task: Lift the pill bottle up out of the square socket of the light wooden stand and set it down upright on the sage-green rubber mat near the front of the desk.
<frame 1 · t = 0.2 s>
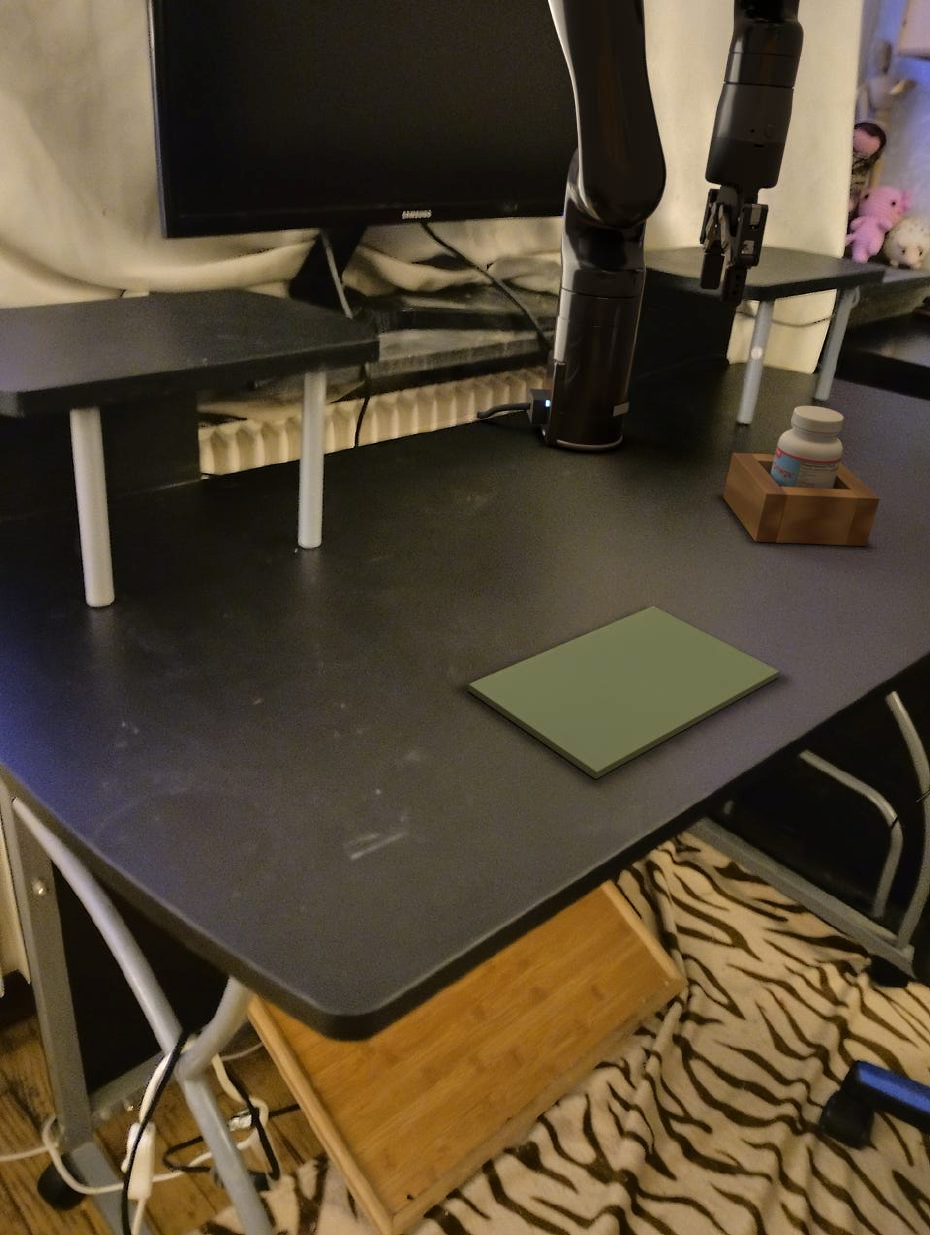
hand: (718, 296, 109), 17 cm above the table, tool pointing down, fingers open, 8 cm apart
pill bottle: (790, 522, 99), resting in stand
mat: (627, 684, 70), on the table
stand: (791, 520, 99), on the table
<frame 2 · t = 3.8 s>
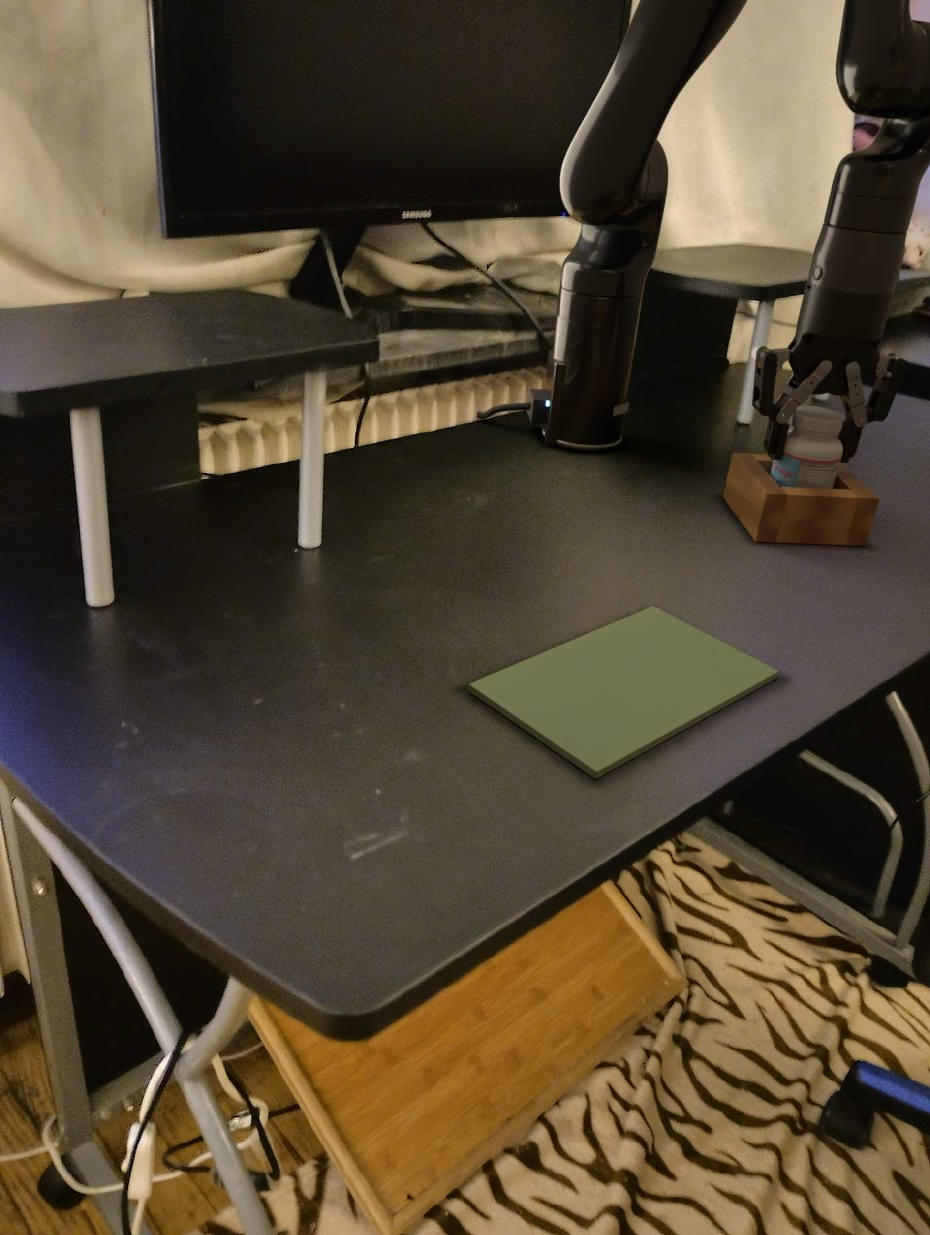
hand: (806, 458, 96), 7 cm above the table, tool pointing down, fingers closed on pill bottle, 6 cm apart
pill bottle: (790, 522, 99), resting in stand, touching gripper
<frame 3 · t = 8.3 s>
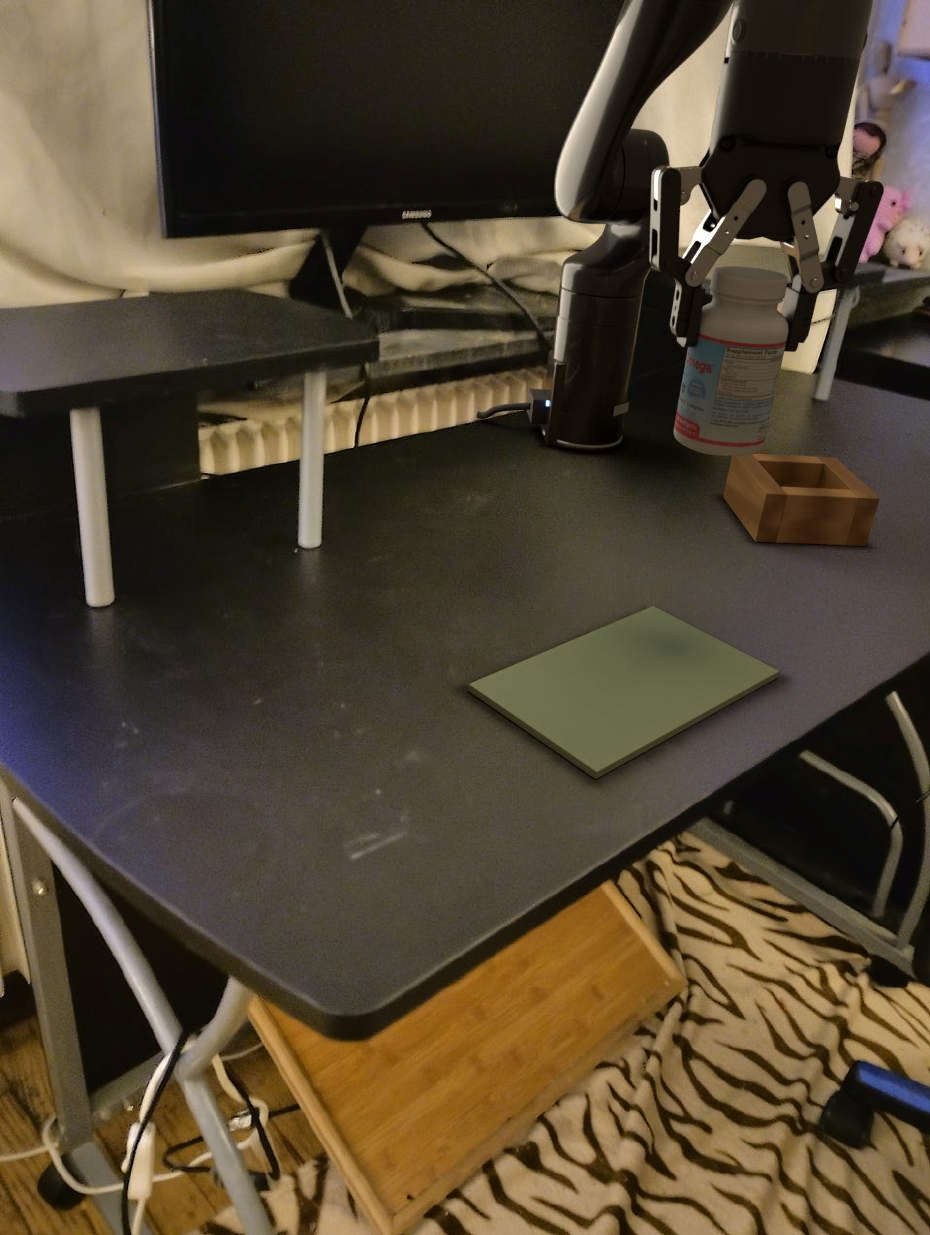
hand: (735, 346, 64), 23 cm above the table, tool pointing down, fingers closed on pill bottle, 6 cm apart
pill bottle: (716, 446, 67), point 16 cm above the table, touching gripper
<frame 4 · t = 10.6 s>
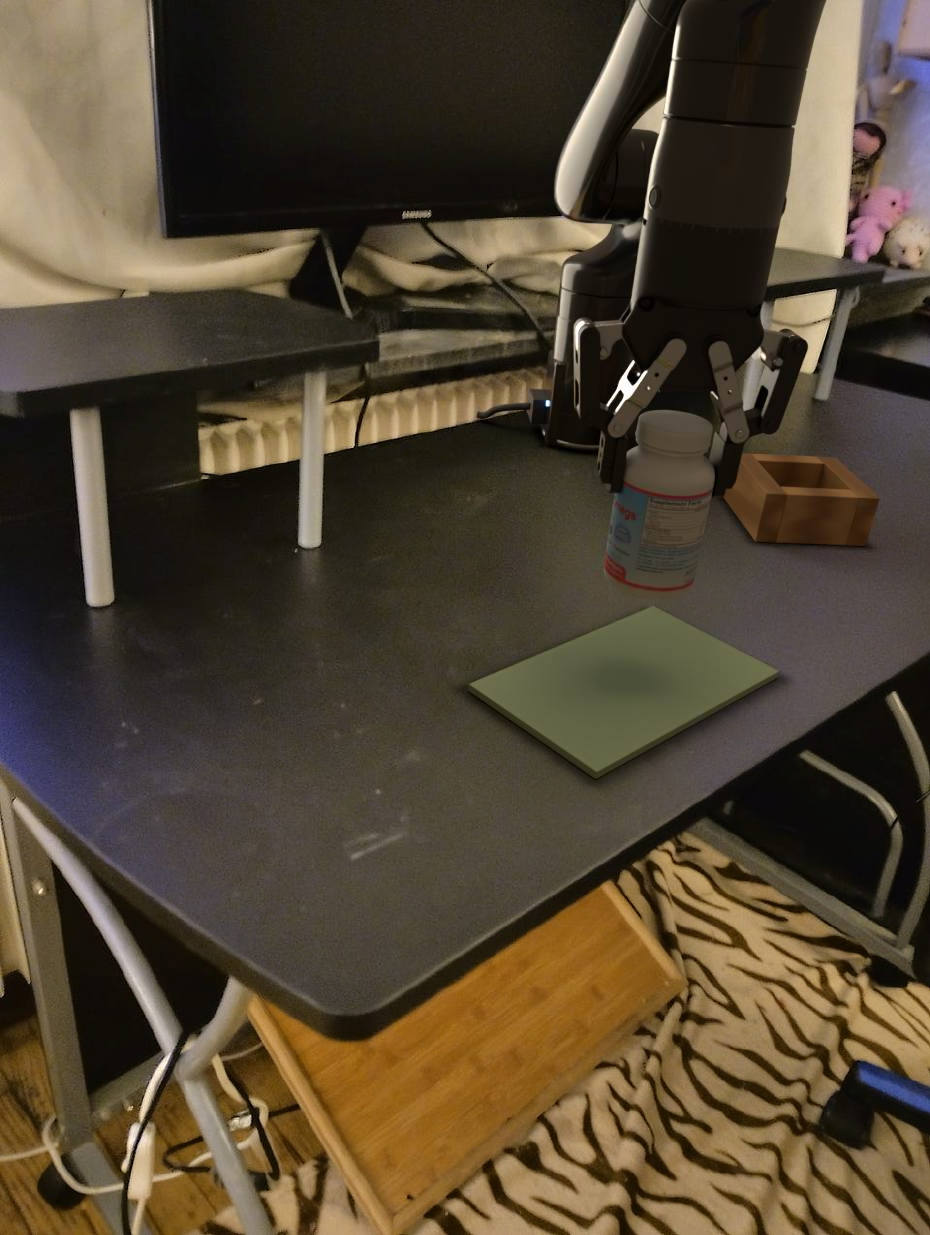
hand: (662, 489, 63), 15 cm above the table, tool pointing down, fingers closed on pill bottle, 6 cm apart
pill bottle: (646, 584, 66), point 8 cm above the table, touching gripper
when the fingers open (7 cm above the table, at t = 12.9 s): pill bottle stays where it is, resting on mat.
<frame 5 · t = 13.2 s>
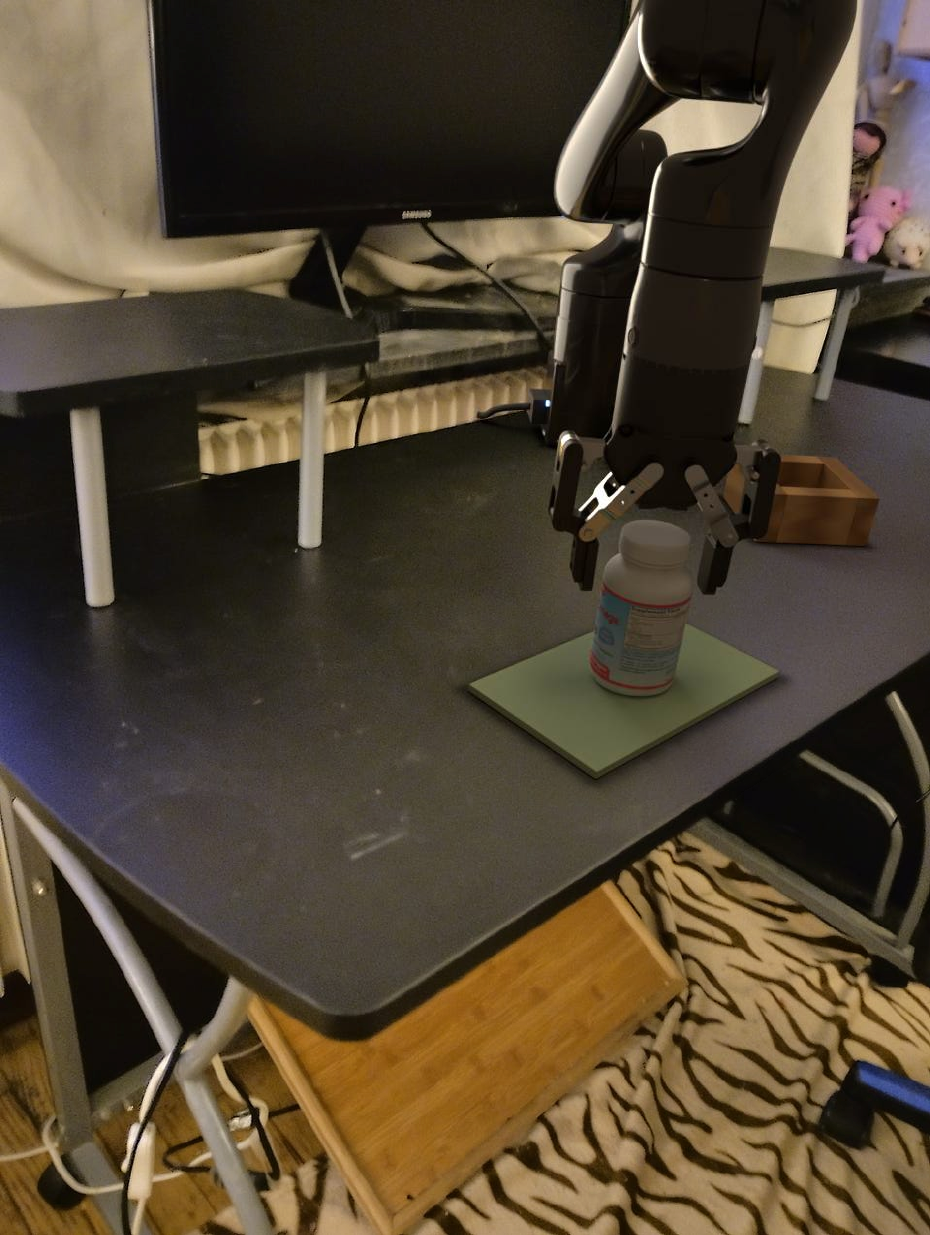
hand: (644, 587, 67), 8 cm above the table, tool pointing down, fingers open, 8 cm apart
pill bottle: (629, 678, 70), resting on mat
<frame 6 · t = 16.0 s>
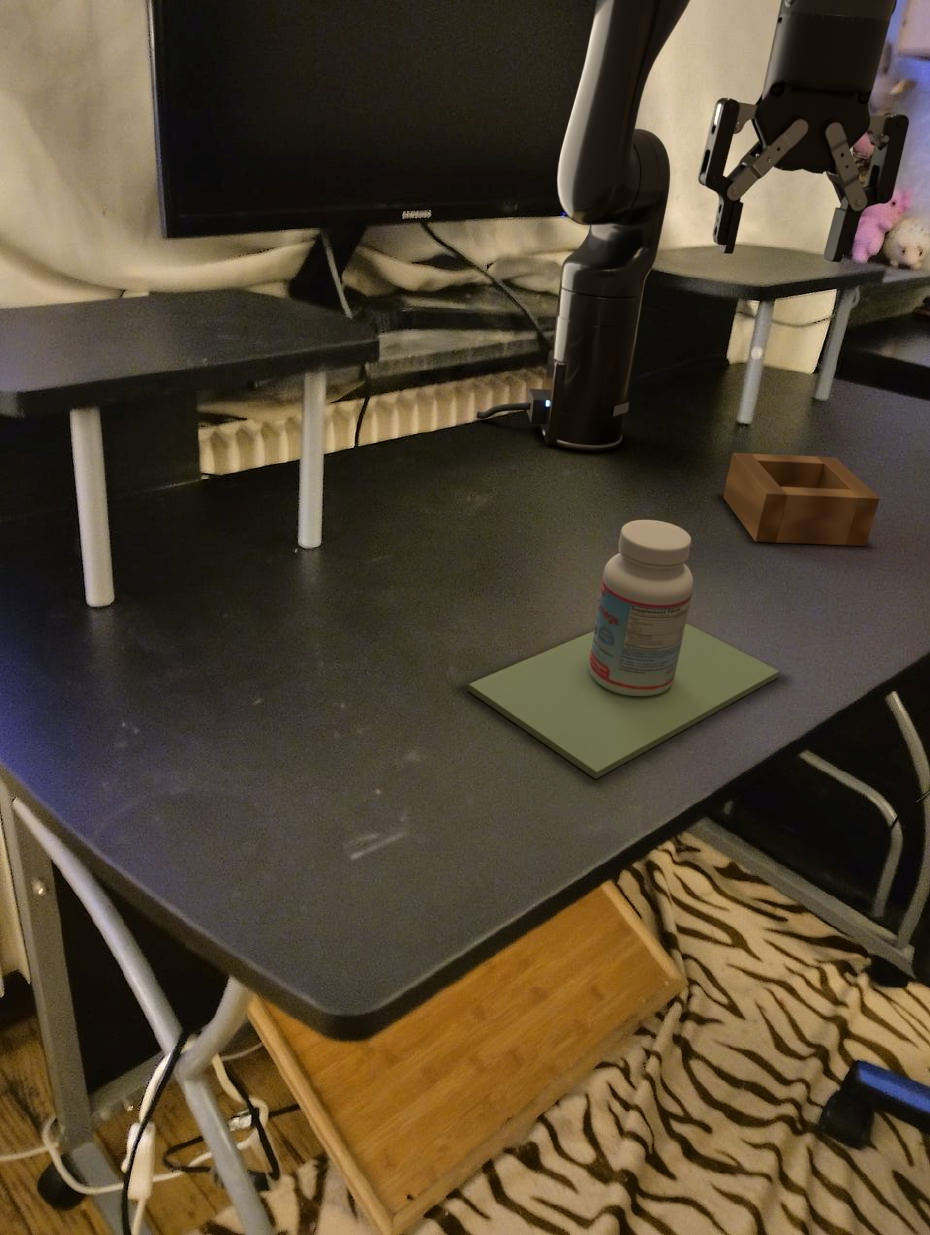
hand: (778, 256, 76), 27 cm above the table, tool pointing down, fingers open, 8 cm apart
nothing on the table moved.
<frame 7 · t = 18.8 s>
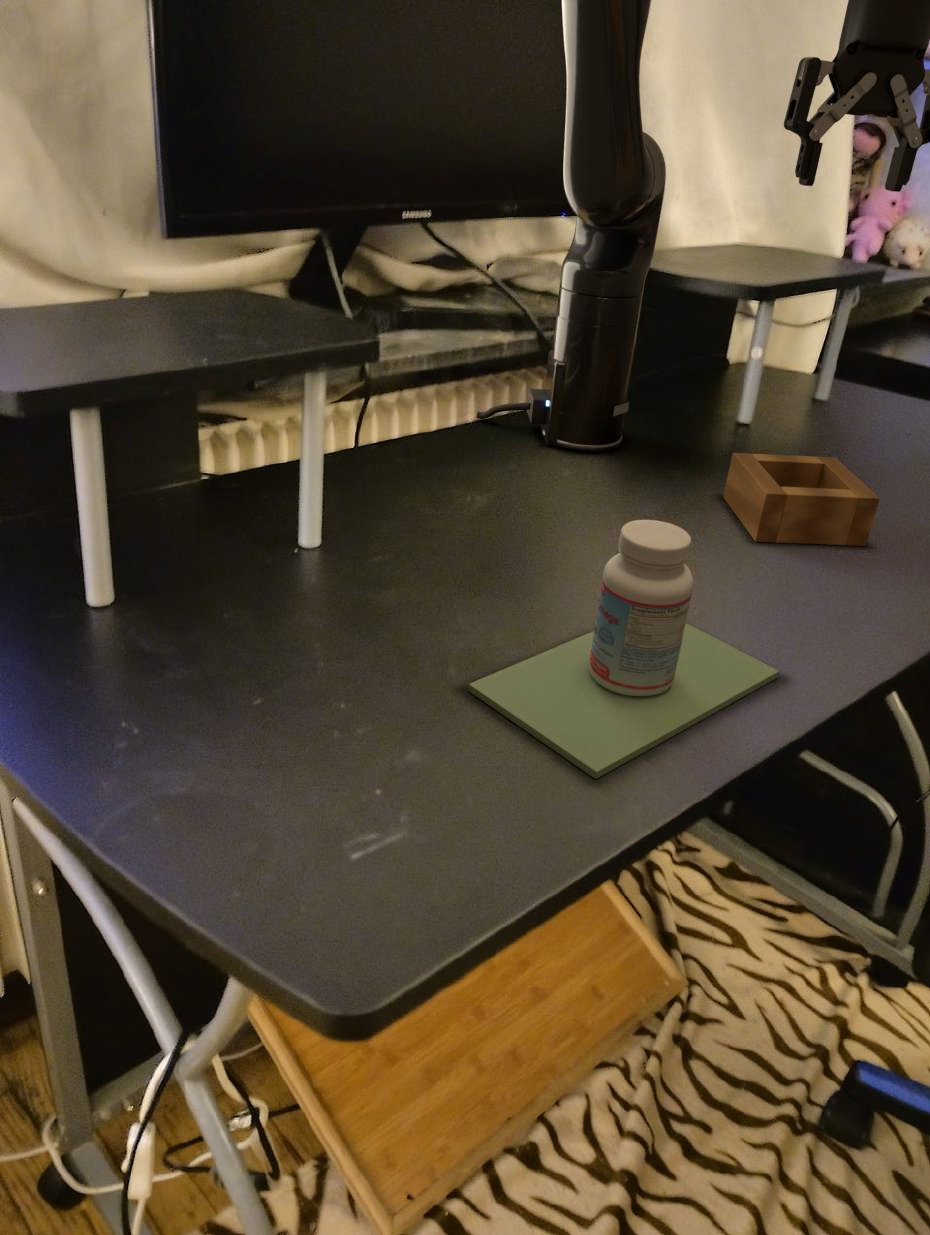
hand: (848, 188, 93), 30 cm above the table, tool pointing down, fingers open, 8 cm apart
nothing on the table moved.
at the end: pill bottle inside the target area on the mat (0.1 cm from its centre), point 0.4 cm above the mat's base; pill bottle tilted 0°; the gripper is holding nothing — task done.
